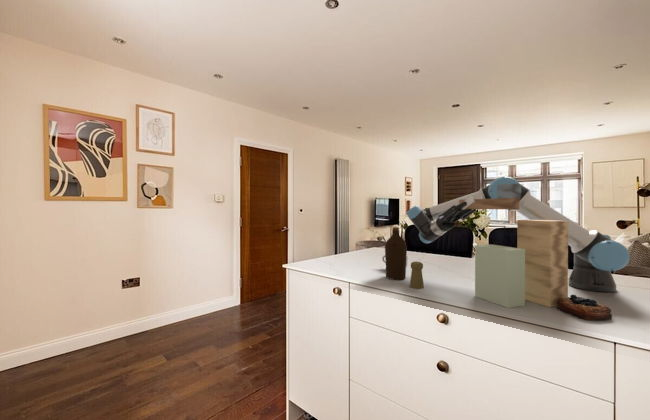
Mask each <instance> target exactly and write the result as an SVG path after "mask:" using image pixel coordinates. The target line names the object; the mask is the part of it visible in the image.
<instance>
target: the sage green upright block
mask: <svg viewBox="0 0 650 420" xmlns="http://www.w3.org/2000/svg"><path fill="white" fill-rule="evenodd" d="M474 248H475V249H474V254H475V255H474V259H475V261H474V265H475V266H474V270H475V271H474V296H475V297H477V298H479V299H482V300H485V301H488V302H491V303H494V304H497V305H499V306H502V307H503V308H507V309H510V308H516V307H517V308H518V307H524V306H526V300H525V249H520V248H517V247H512V246H505V245H498V244H492V243H491V244H475V245H474Z"/></svg>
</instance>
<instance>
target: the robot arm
mask: <svg viewBox="0 0 650 420" xmlns="http://www.w3.org/2000/svg"><path fill="white" fill-rule="evenodd" d="M501 184H521V183H520V182H519V181H518V180H517V179H515V178H513V177H512V176H499V177H497V178H495V179H493V180H492V182H490V184H488V185H487V186H484V187H481V188H480V189H479V190H478V191H475V192H471V193H470V194H466V195H464V196H460V197H457V198H454V199H451V200H449V201H445V202H441V203H439V204H436V205H433V206H430V207H427V208H423V209H422V208H421V207H420V206H419V205H414V206H413V207H410V208H409V210H408V211H407V212H406V217H407V218H408V220H410V222H412V224H413V225H414V226H415V227H416V228H417V230H418V231H419V233H418V237H419V240H420V241H421V242H422V243H424V244H430V243H433V242H434V241H436V240H437V239H438V238H440V237H441V236H443V235H444V234H445V233H447V232H448V231H450V230H452V229H453V228H454V227H455V223H457V222H458V221H460V220H461V221H463V222H464V221H466V219H467V218H468V217H470V216H471V215H473V214H474V213H475V212H477V210H478V209H466V208H467V207H468V206H470V205H471V204H473V203H474V202H475V201H474V199H497V185H501ZM530 190H531V189H528V187H525V186H524V185H522V184H521V198H520V209H507V210H508V211H509V212H514V211H515V212H517V213H519V214H520V215H522V216H523V217H525V218H527V220H556V221H568V247H570V250H571V253H573V269H572V271H571V273H570V275H569V276H568V286H571V287H573V288H577V289H581V290H585V291H593V292H601V293H602V292H603V293H614V292H617V283H616V282H615V279H614V276H613V273H612V272H615V271H619V270H621V269H624V268H625V267H626V266H627V265H628V264H629V262H630V259H631V258H630V255H631V254H630V252H629V250H628V248H627V247H626V246H625V245H624V244H622V243H621V242H618V241H615V240H612V239H611V236H610V235H608V234H603V233H600V231H598V230H588V229H586V228H585V227H583V226H582V225H580V224H578V223H576V222H575V221H574V220H572V219H570V218H569V217H568V216H565V215H564V214H562V213H561V212H559V211H557V210H555V209H554V208H553V207H551V206H550V205H547V204H546V203H545V202H542V201H541V200H539V199H538V198H537V197H535V196H533V195H532V194H531V191H530ZM459 200H465V201H464V202H462V203H461V204H460V205H459Z"/></svg>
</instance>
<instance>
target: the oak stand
mask: <svg viewBox="0 0 650 420" xmlns="http://www.w3.org/2000/svg"><path fill="white" fill-rule="evenodd" d="M516 224H517V225H516V226H517V228H516V229H517V231H516V232H517V233H516V234H517V235H516V236H517V237H516V238H517V242H516V243H517V244H516V248H520V249H525V301H528V302H529V301H530V302H532V303H535V304H539V305H541V306H544V307H548V308H553V307H558V306H557V305H559V304H557V301H558V299H559V298H561V297H566V298H567V297H569V296H568V295H569V290H568V289H569V245H568V221H556V220H529V219H517V223H516Z"/></svg>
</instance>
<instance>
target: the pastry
mask: <svg viewBox="0 0 650 420" xmlns="http://www.w3.org/2000/svg"><path fill="white" fill-rule="evenodd" d="M557 304H559V305H557V306H556V309H557V310H558V311H560V312H562V313H565V314H568V315H570V316H572V317H576V318H578V319H581V320H582V321H583V320H584V321H590V322H591V321H592V322H594V321H595V322H599V321H601V322H602V321H604V322H605V321H608V320H611V319H613V315H612V309H611V308H610V307H609V306H607V305H606V304H603V303H598V302H597V300H595V299H592V298H585V297H582V296H581V297H580V296H577V294H570V296H568V297H567V298H566V297H561V298H559V299H558V301H557Z"/></svg>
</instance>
